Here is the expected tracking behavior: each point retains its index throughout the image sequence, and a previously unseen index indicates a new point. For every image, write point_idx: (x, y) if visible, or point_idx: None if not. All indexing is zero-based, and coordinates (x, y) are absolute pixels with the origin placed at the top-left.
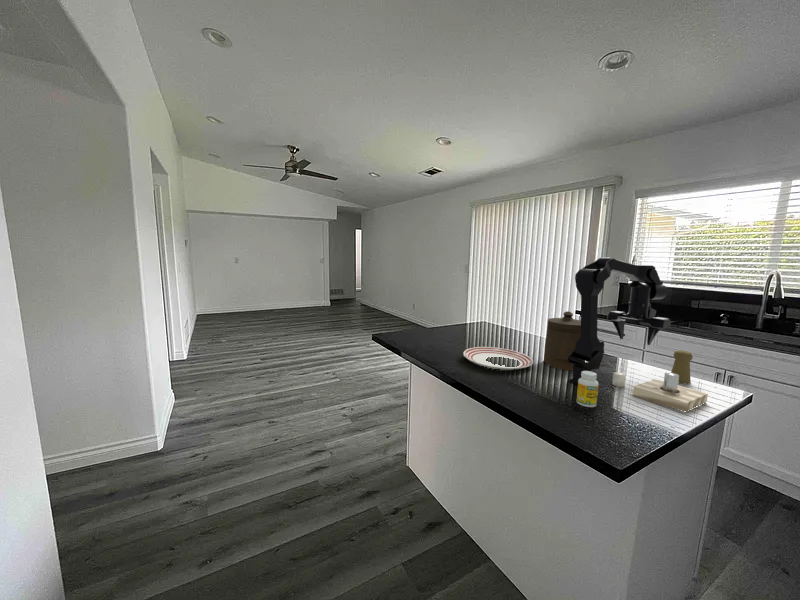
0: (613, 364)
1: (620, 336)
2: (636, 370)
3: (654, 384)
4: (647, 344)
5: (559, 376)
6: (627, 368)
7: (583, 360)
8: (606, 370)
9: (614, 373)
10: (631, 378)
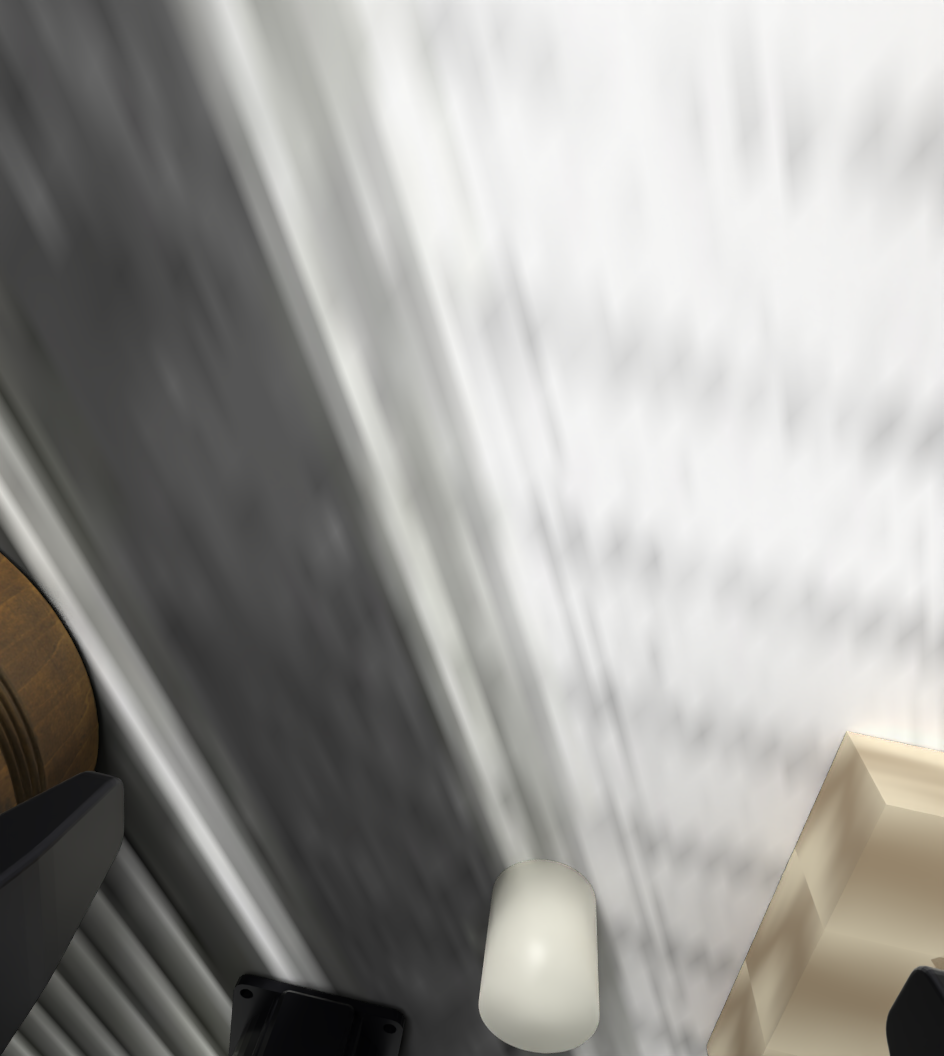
0: (162, 71)
1: (50, 947)
2: (521, 111)
3: (889, 995)
4: (888, 1042)
5: (125, 1011)
6: (389, 120)
7: (17, 749)
8: (259, 508)
9: (494, 1026)
10: (577, 597)
